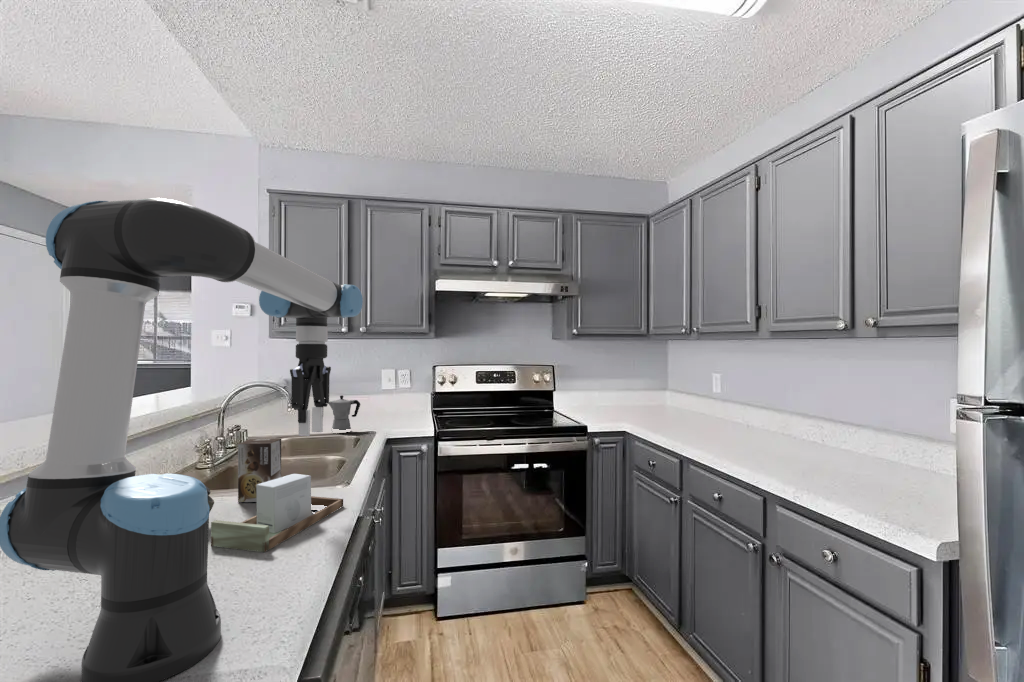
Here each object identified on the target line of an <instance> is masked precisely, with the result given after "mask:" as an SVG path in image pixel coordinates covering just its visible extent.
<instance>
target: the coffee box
mask: <svg viewBox="0 0 1024 682" xmlns="http://www.w3.org/2000/svg"><path fill="white" fill-rule="evenodd" d="M237 460H238V461H237V503H238V502H257V494H256V485H257V484H260V483H263V482H267V481H270V480H274V479H277V478H280V477H282V438H250V439H246V440H245V441H242V442H240V443H238V444H237Z"/></svg>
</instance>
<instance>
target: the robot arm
mask: <svg viewBox="0 0 1024 682" xmlns="http://www.w3.org/2000/svg"><path fill="white" fill-rule="evenodd" d="M45 247H46V251H47V253H48V255H49V257H50V256H51V257H52V258H53V259H54V260H53V263H54V264H55V265H56V267H58V268H59V269H60V275H59V282H60V284H62V285H63V286H64V287H65V288H66V289H67V290H68V291H69V293H70V294H71V299H70V304H69V305H70V306H69V311H68V318H67V324H66V329H65V330H66V331H65V336H64V337H65V338H64V342H63V348H62V349H63V351H62V355H61V362H60V367H59V375H58V376H59V377H58V380H57V388H56V392H55V400H54V406H53V407H54V408H53V411H52V412H53V414H52V418H51V426H50V433H49V439H48V445H47V452H46V459H45V460H44V461H43V462H42V463H40V465H38V466H37V467H36V468H34V469H33V470H31V471H30V472H29V473H28V476H27V482H26V487H25V488H23V489H22V490H20V491H18V493H17V494H15V498H14V499H13V500H11V501H9V502H8V503H7V504H5V506H4V508H3V510H2V512H1V514H0V549H1V551H2V552H3V553H4V554H5V555H6V556H7V557H8V558H9V559H10V560H12V561H13V562H15V563H18V564H20V565H24V566H28V567H31V568H32V569H36V570H40V571H59V572H60V571H61V572H68V573H69V572H70V573H77V574H87V575H88V574H89V575H97V576H101V578H100V579H101V580H100V582H101V583H100V585H101V586H100V591H101V592H100V610H99V614H98V617H97V620H96V622H95V625H94V627H93V631H92V634H91V637H90V639H89V642H88V645H87V646H86V649H85V651H84V653H83V655H82V658H81V681H82V682H161V681H164V680H167V679H169V678H171V677H173V676H175V675H179V674H180V673H181V672H184V671H186V670H187V669H189V668H191V667H192V666H194V665H196V664H197V663H198V662H200V661H201V660H202V659H204V658H205V657H206V656H207V655H208V654H210V653H211V652H212V651H213V650H214V648H215V647H216V646H217V645H218V643H219V641H220V639H221V634H222V618H221V614H220V611H218V609H217V605H216V602H215V599H214V596H213V594H212V592H211V589H210V587H209V584H208V564H209V563H208V560H209V559H208V558H209V557H208V556H209V532H210V530H209V528H210V526H209V525H210V513H211V511H210V512H209V509H210V508H209V504H208V495H207V489H206V487H205V486H206V485H205V484H204V483H203V482H202V481H201V480H200V479H198V478H196V477H194V476H189V475H185V474H179V473H163V474H157V473H148V474H147V473H146V474H140V475H139V474H138V475H136V470H137V467H136V466H135V465H134V464H133V463H132V462H130V461H129V460H128V459H127V458H126V452H127V451H126V449H127V444H128V438H129V437H128V436H129V429H130V420H131V413H132V407H133V399H134V392H135V384H136V376H137V370H138V369H137V368H138V361H139V355H140V347H141V346H140V345H141V339H142V332H143V325H144V319H145V318H144V317H145V311H146V310H145V309H146V305H147V303H148V302H149V301H151V300H154V299H155V298H156V297H158V296H159V294H160V288H161V280H162V278H165V277H181V276H182V277H199V278H200V277H202V278H207V279H212V280H215V281H218V282H221V283H233V282H237V283H240V284H242V285H245V286H248V287H251V288H254V289H256V290H259V291H260V293H259V296H258V304H259V307H260V309H261V311H262V312H263V313H264V314H266V315H267V316H269V317H274V318H278V319H279V318H285V319H286V318H287V319H295V326H296V327H295V328H296V329H295V341H296V342H297V343H296V345H295V358H296V359H298V363H297V366H296V367H295V368H290V369H289V374H290V377H291V399H290V400H291V401H290V402H291V403H290V404H291V408H292V409H293V410H295V411H297V423H298V436H299V437H301V436H302V437H310V435H311V432H312V433H323V431H324V428H323V426H324V424H323V423H324V422H323V421H324V408H327V407H328V405H329V404H328V403H329V402H330V375H331V370H332V367H331V366H326V365H325V362H324V359H327V357H328V345H327V342H328V339H329V338H328V336H329V334H328V332H329V331H328V318H343V319H345V318H355V317H357V316H358V315H360V313H361V311H362V308H363V302H364V301H363V300H364V298H363V295H362V292H361V291H362V290H360V288H359V287H358V286H357V285H354V284H346V283H344V284H338V283H335V282H333V281H331V280H329V279H328V278H327V277H326V278H325V277H324V276H322V275H320V274H317V273H316V272H315V271H312V270H310V269H308V268H306V267H305V266H302V265H301V264H298V263H296V262H294V261H293V260H291V259H289V258H287V257H285V256H283V255H282V254H279V253H277V252H276V251H273V250H272V249H269V247H266V246H264V245H262V244H260V243H258V242H256V241H255V239H254V236H252V234H251V233H250V232H249V231H248V230H246V229H244V228H242V227H241V226H239V225H237V224H235V223H233V222H231V221H229V220H227V219H225V218H223V217H221V216H219V215H217V214H214V213H211V212H209V211H207V210H204V209H202V208H199V207H198V206H194V205H193V204H192V205H191V204H189V203H185V202H182V201H178V200H174V199H167V198H162V197H161V198H160V197H151V198H150V197H149V198H141V199H128V200H127V199H126V200H113V201H109V200H94V201H93V200H92V201H86V202H84V203H81V204H75V205H74V204H73V205H71V206H68V207H66V208H64V209H63V210H61V211H60V212H58V213H57V214H56V215H55V216H54V217H53V218H52V219H51V220H50V223H49V224H48V226H47V229H46V233H45ZM311 391H312V397H313V405H314V406H312V407H311V410H310V409H308V408H309V403H310V395H311Z"/></svg>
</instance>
